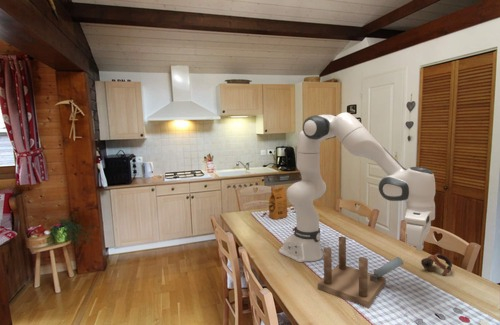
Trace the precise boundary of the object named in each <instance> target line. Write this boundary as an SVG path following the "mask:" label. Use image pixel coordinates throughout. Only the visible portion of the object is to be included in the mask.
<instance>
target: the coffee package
mask: <svg viewBox="0 0 500 325" xmlns="http://www.w3.org/2000/svg"><path fill="white" fill-rule="evenodd" d="M270 191H272V192H271V194H270V197H269V200H268V215H269V216H268V217H269V218H271V219H273V220H276V221H277V220H281V219H285V218H286V217H288V202H287V201H288V198H287V194H286V191H285V188H284V186H280V187H279V188H271V190H270Z"/></svg>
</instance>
